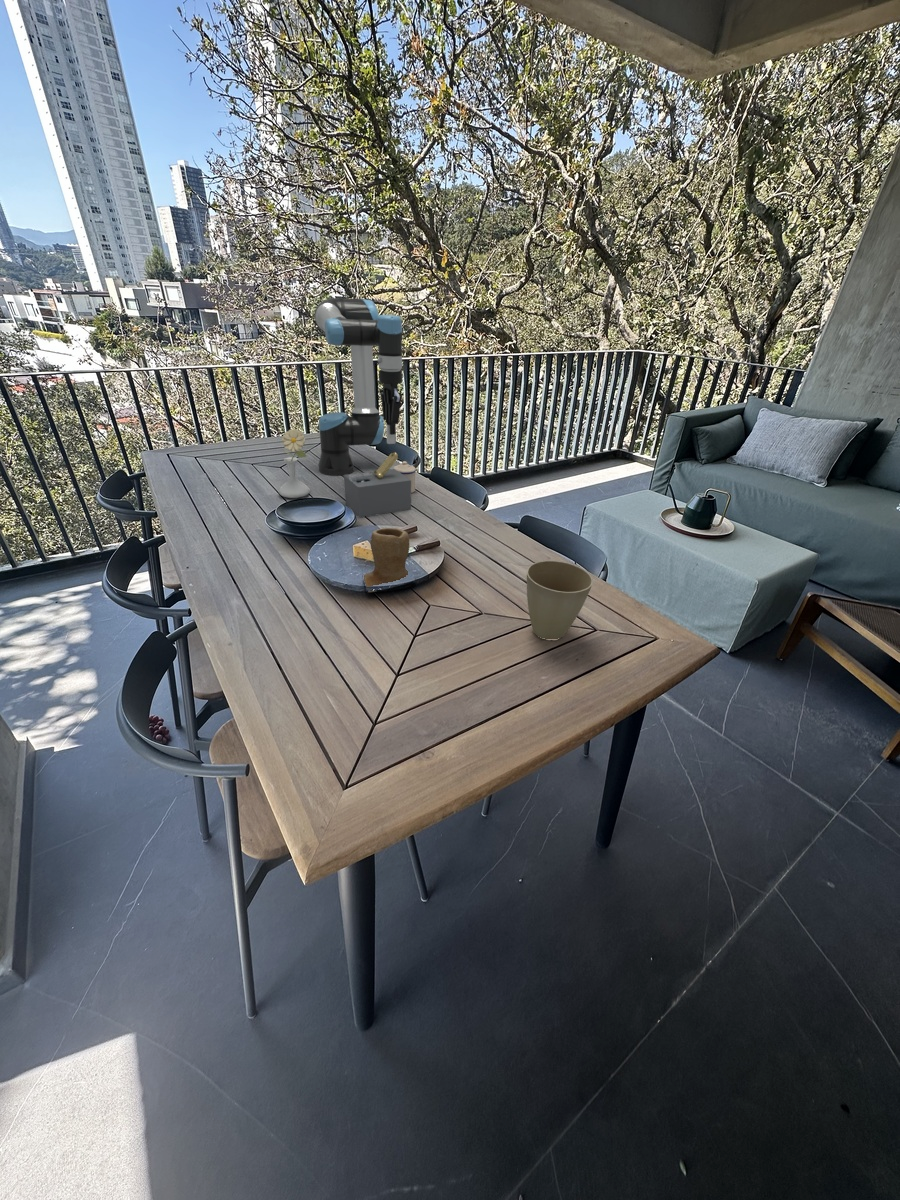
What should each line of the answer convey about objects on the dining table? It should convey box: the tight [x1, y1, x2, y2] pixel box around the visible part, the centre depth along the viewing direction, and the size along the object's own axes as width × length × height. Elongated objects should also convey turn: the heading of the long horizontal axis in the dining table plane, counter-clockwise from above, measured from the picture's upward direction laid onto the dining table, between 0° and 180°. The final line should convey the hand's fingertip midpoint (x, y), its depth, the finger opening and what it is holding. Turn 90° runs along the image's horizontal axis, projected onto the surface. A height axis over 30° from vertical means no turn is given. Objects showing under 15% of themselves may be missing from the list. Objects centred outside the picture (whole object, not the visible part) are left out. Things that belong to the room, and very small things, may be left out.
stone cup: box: [363, 527, 410, 593], centre depth 134 cm, size 15×12×15 cm
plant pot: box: [526, 560, 594, 639], centre depth 117 cm, size 15×15×16 cm
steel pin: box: [349, 471, 373, 483], centre depth 178 cm, size 3×8×12 cm, turn 120°
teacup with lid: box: [392, 460, 417, 494], centre depth 196 cm, size 12×9×12 cm
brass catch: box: [374, 451, 399, 479], centre depth 178 cm, size 4×11×2 cm
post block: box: [343, 468, 412, 518], centre depth 181 cm, size 14×20×11 cm
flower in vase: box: [278, 428, 311, 499], centre depth 183 cm, size 13×11×25 cm
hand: (391, 443), depth 174 cm, fingers closed
